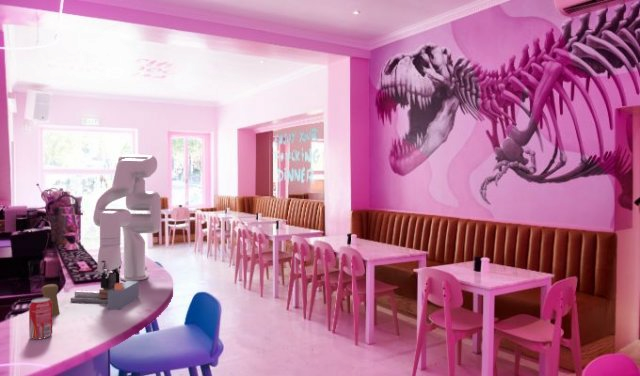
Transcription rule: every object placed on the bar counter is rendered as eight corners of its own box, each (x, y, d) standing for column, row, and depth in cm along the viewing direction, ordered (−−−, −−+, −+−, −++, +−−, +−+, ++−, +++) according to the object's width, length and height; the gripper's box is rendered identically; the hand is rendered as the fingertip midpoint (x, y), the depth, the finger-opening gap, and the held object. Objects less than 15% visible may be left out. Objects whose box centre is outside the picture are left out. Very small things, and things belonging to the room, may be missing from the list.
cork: (50, 318, 158) (50, 287, 157) (36, 316, 159) (36, 286, 158) (63, 312, 164) (63, 283, 163) (49, 311, 165) (49, 282, 164)
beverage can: (36, 333, 144) (35, 296, 143) (56, 333, 144) (56, 296, 143) (25, 340, 137) (24, 302, 137) (46, 340, 138) (45, 302, 137)
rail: (79, 297, 182) (79, 289, 182) (124, 299, 181) (124, 290, 181) (70, 301, 176) (70, 293, 176) (116, 303, 175) (116, 295, 175)
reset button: (116, 297, 174) (117, 282, 173) (124, 297, 173) (124, 282, 173) (112, 299, 171) (112, 284, 170) (120, 300, 170) (120, 284, 170)
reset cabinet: (127, 297, 184) (127, 280, 183) (138, 298, 183) (138, 281, 183) (107, 309, 169) (107, 290, 168) (120, 309, 168) (120, 291, 168)
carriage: (105, 294, 181) (105, 272, 180) (119, 295, 180) (119, 272, 180) (99, 298, 176) (99, 274, 176) (114, 298, 176) (113, 275, 176)
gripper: (112, 238, 186) (112, 279, 187) (88, 245, 169) (88, 291, 170) (129, 238, 186) (129, 280, 187) (107, 245, 168) (107, 291, 169)
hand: (110, 285), depth 178 cm, fingers open, 7 cm apart
